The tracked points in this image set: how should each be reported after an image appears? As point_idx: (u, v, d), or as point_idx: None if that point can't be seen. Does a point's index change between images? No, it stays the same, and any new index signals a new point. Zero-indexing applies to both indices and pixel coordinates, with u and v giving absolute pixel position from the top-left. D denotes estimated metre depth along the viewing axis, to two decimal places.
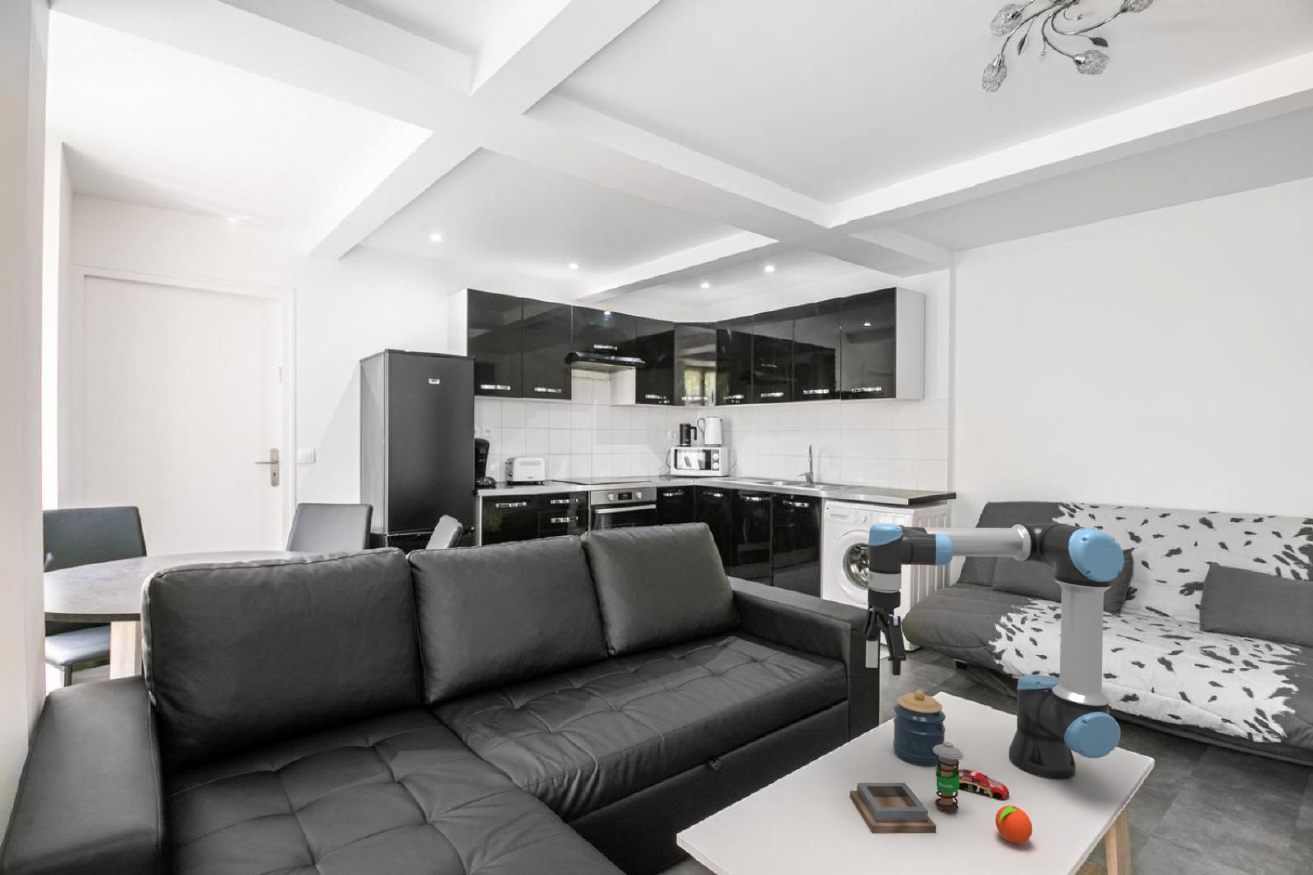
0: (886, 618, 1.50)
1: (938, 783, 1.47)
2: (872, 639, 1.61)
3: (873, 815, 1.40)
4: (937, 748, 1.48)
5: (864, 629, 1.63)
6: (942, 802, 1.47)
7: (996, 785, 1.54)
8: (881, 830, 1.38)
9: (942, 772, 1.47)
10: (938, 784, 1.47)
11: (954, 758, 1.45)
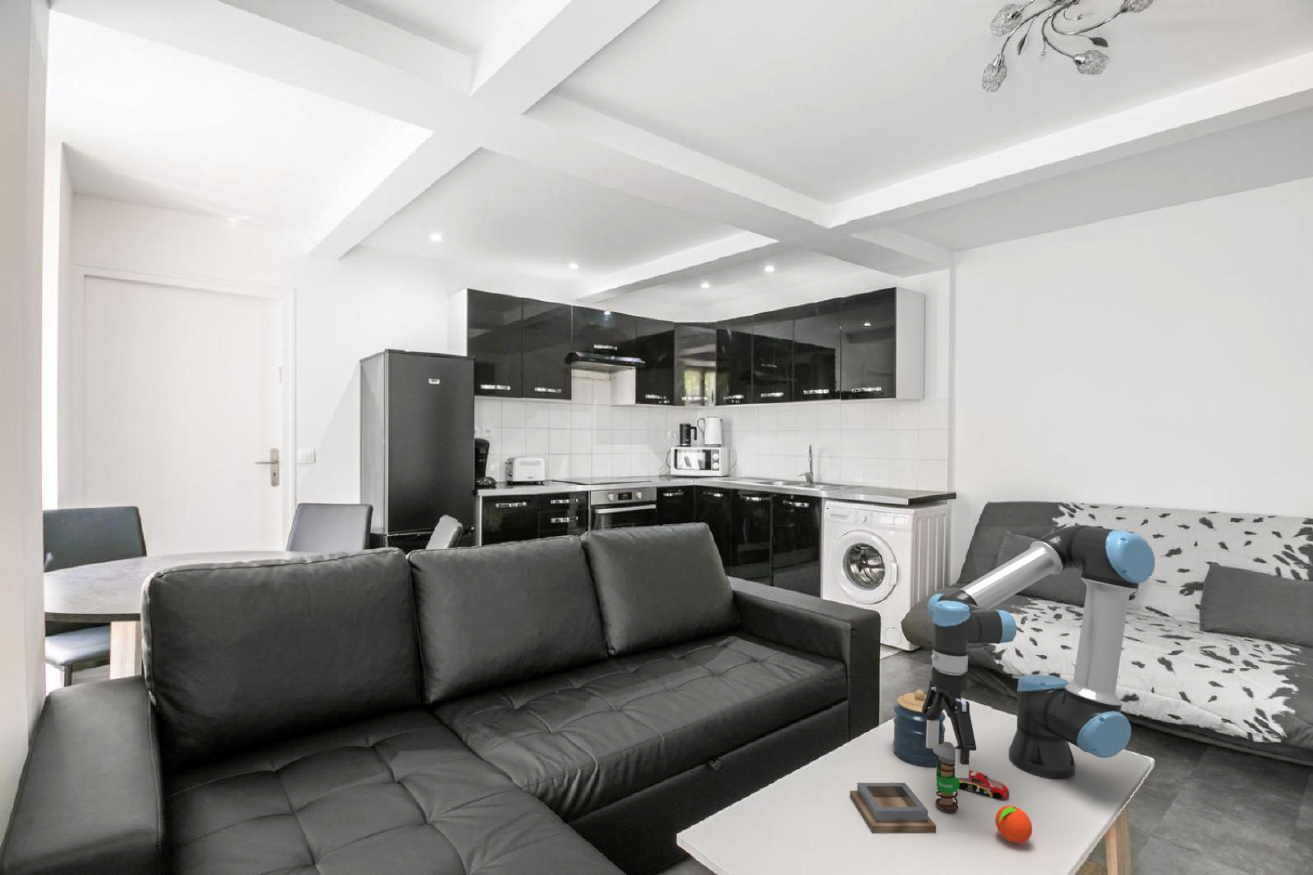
0: (953, 702, 1.44)
1: (938, 783, 1.47)
2: (933, 718, 1.55)
3: (873, 815, 1.40)
4: (937, 748, 1.48)
5: (924, 707, 1.56)
6: (942, 802, 1.47)
7: (996, 785, 1.54)
8: (881, 830, 1.38)
9: (942, 772, 1.47)
10: (938, 784, 1.47)
11: (954, 758, 1.45)
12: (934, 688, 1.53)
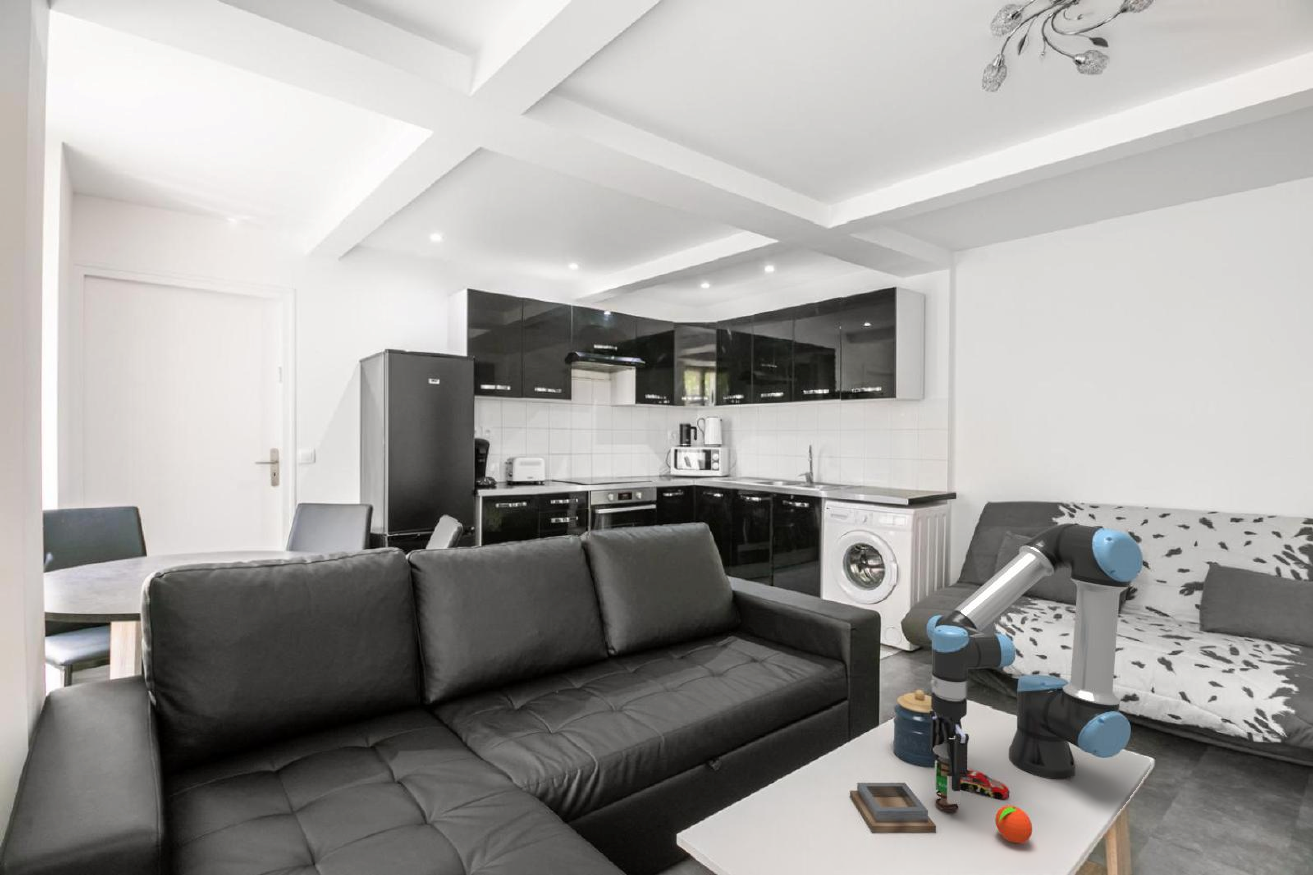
0: (952, 729, 1.44)
1: (938, 783, 1.47)
2: None
3: (873, 815, 1.40)
4: (937, 748, 1.48)
5: (931, 745, 1.53)
6: (942, 802, 1.47)
7: (997, 785, 1.54)
8: (881, 830, 1.38)
9: (942, 772, 1.47)
10: (938, 784, 1.47)
11: None
12: (935, 717, 1.52)
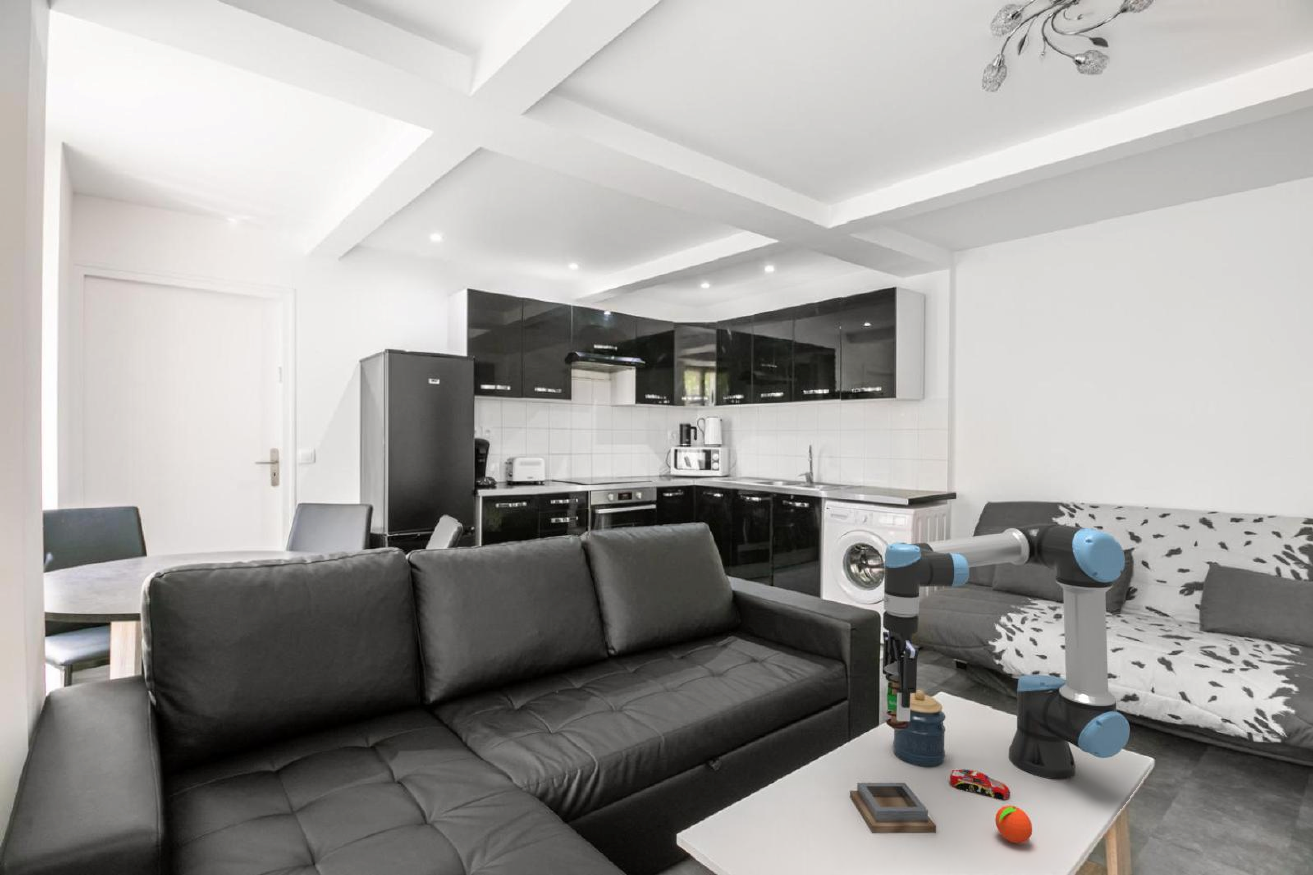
0: (902, 645, 1.42)
1: (888, 701, 1.45)
2: None
3: (873, 815, 1.40)
4: (888, 666, 1.46)
5: (883, 667, 1.51)
6: (892, 721, 1.45)
7: (997, 785, 1.54)
8: (881, 830, 1.38)
9: (893, 691, 1.45)
10: (888, 702, 1.45)
11: None
12: (888, 638, 1.50)
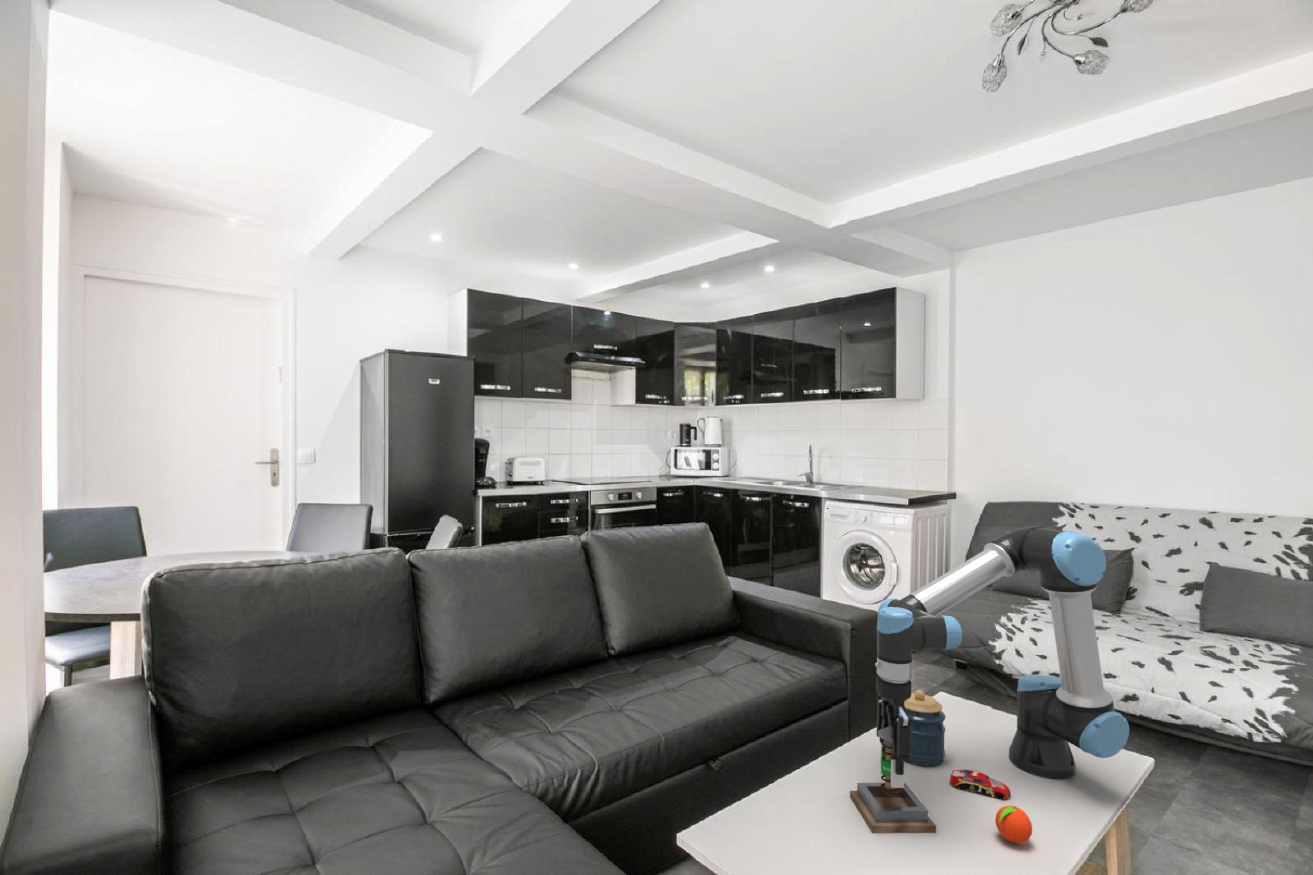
0: (896, 712, 1.41)
1: (882, 767, 1.44)
2: None
3: (873, 815, 1.40)
4: (882, 731, 1.45)
5: (877, 729, 1.50)
6: (886, 786, 1.45)
7: (998, 785, 1.54)
8: (881, 830, 1.38)
9: (886, 756, 1.45)
10: (882, 768, 1.44)
11: None
12: (881, 700, 1.50)
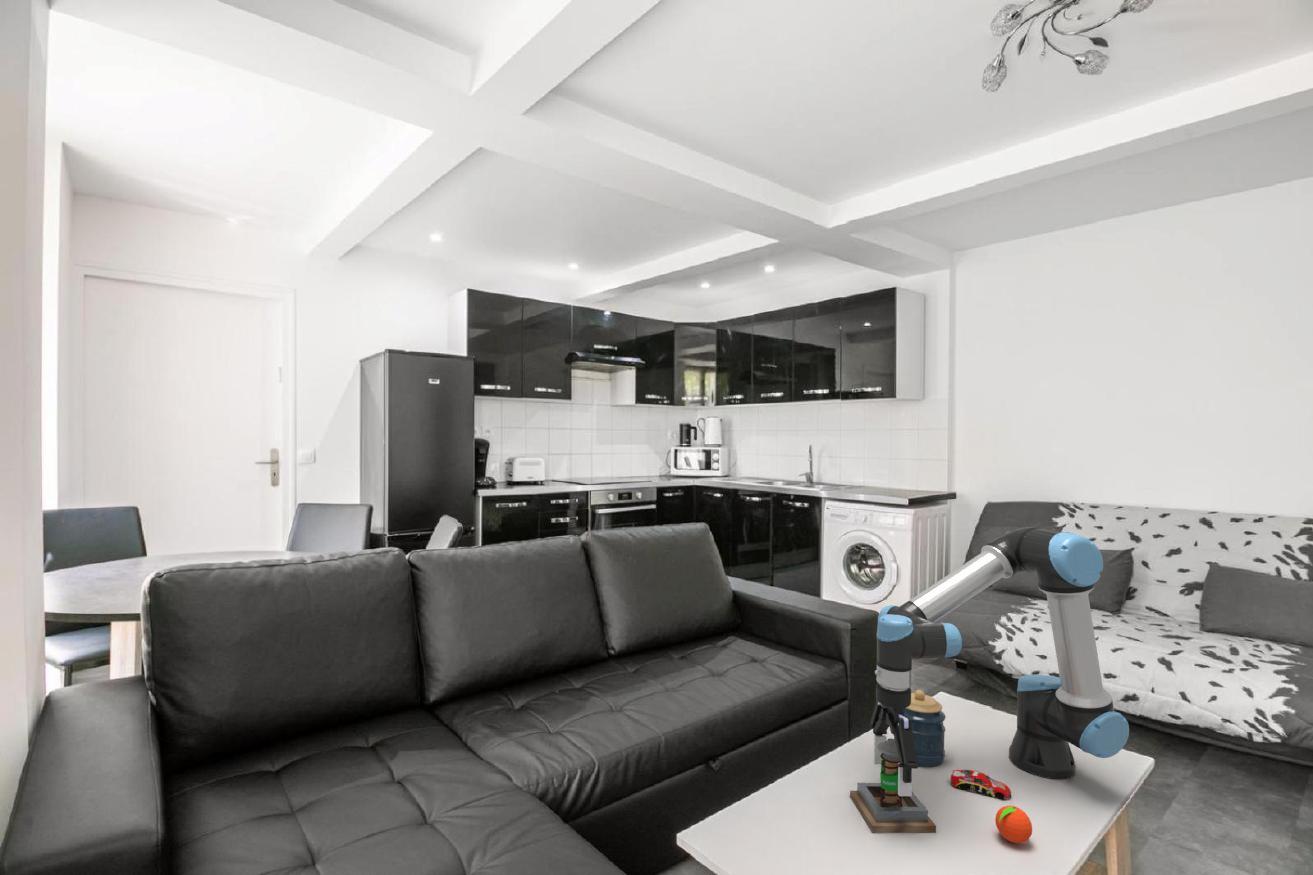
0: (896, 719, 1.41)
1: (882, 781, 1.44)
2: (880, 734, 1.52)
3: (873, 815, 1.40)
4: (881, 745, 1.46)
5: (872, 722, 1.54)
6: (886, 800, 1.45)
7: (998, 785, 1.54)
8: (881, 830, 1.38)
9: (886, 769, 1.45)
10: (882, 782, 1.44)
11: (897, 755, 1.42)
12: (880, 703, 1.50)
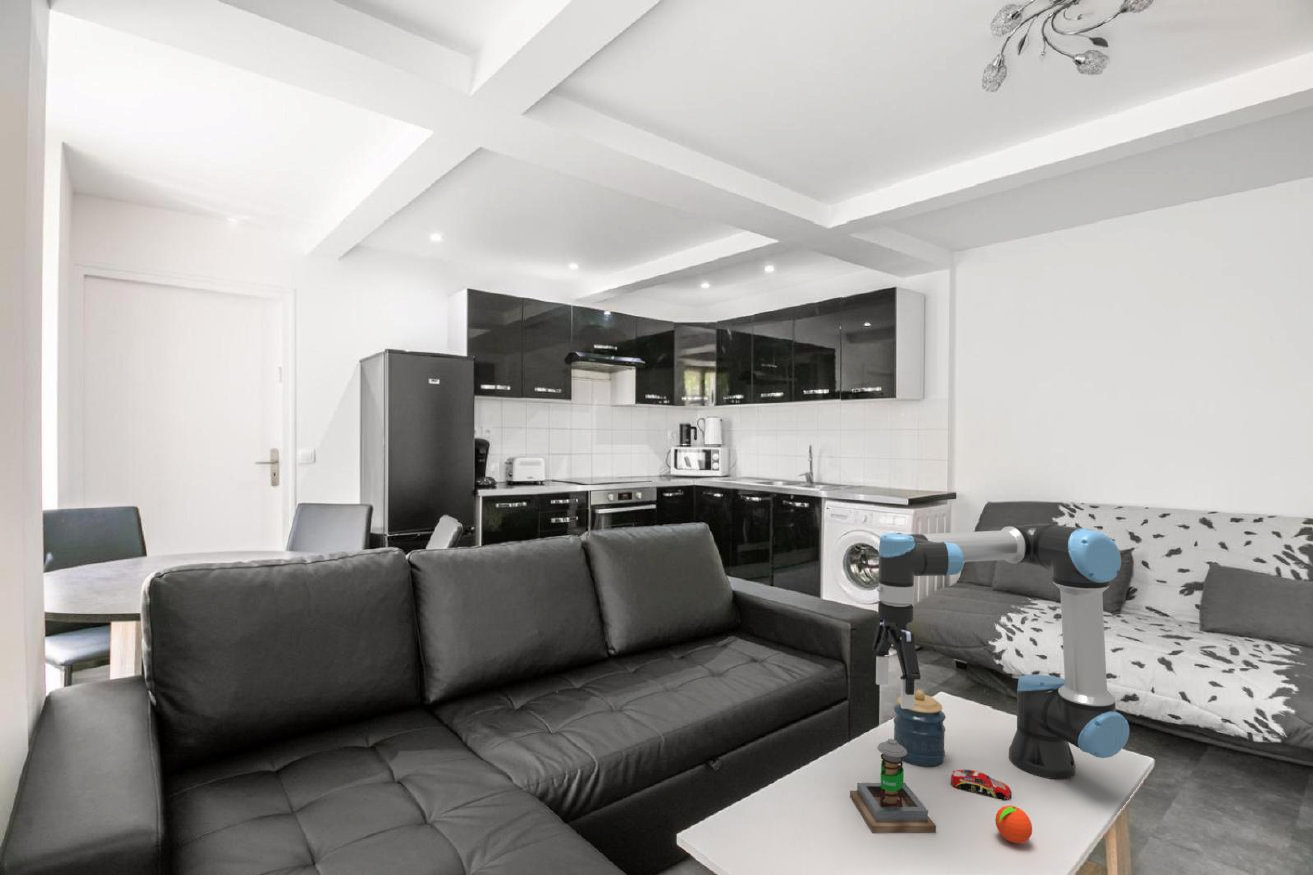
0: (898, 634, 1.42)
1: (882, 781, 1.44)
2: (882, 654, 1.53)
3: (873, 815, 1.40)
4: (881, 745, 1.45)
5: (874, 644, 1.54)
6: (886, 800, 1.45)
7: (999, 785, 1.54)
8: (881, 830, 1.38)
9: (886, 770, 1.45)
10: (882, 782, 1.44)
11: (897, 755, 1.42)
12: (882, 623, 1.51)
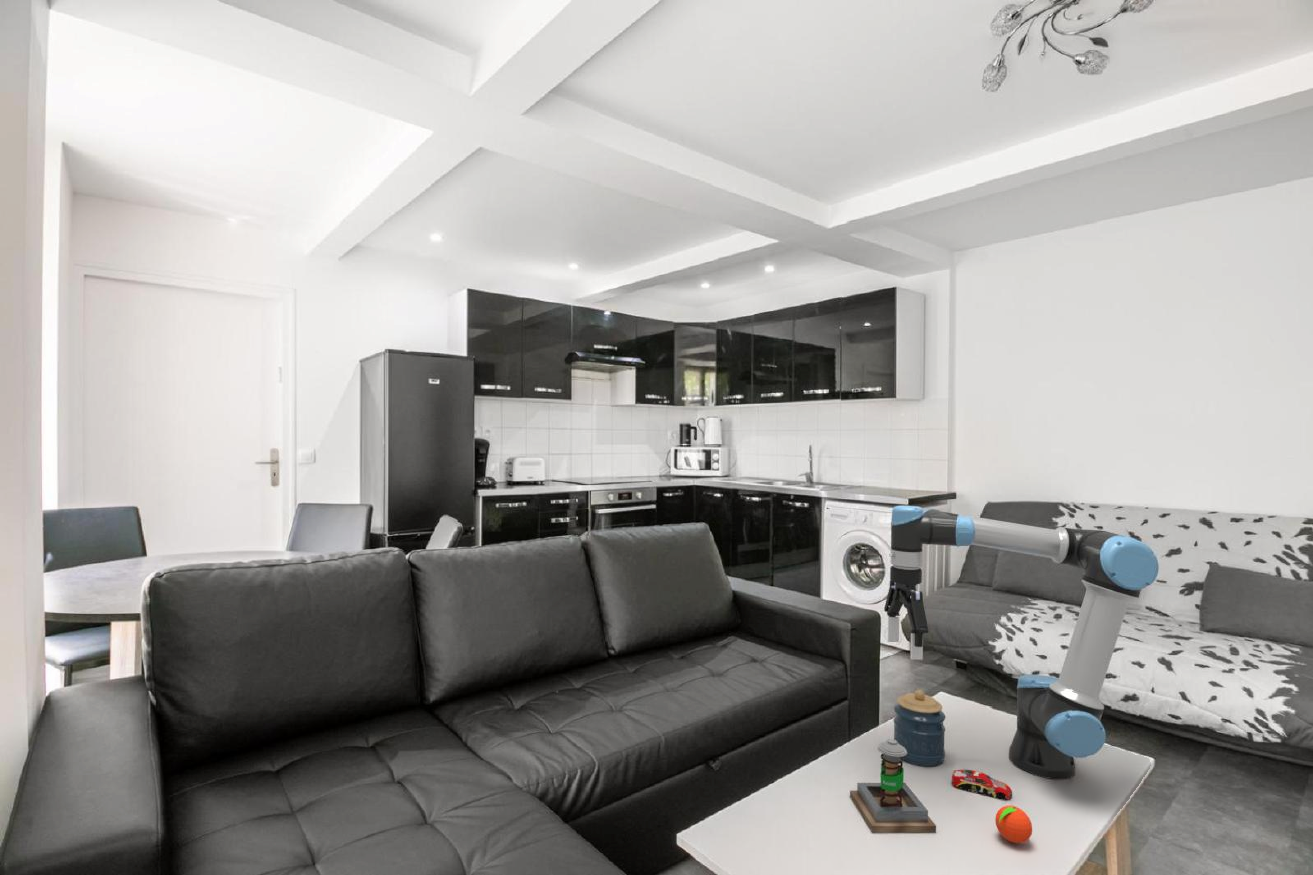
0: (908, 594, 1.59)
1: (882, 781, 1.44)
2: (893, 615, 1.70)
3: (873, 815, 1.40)
4: (881, 745, 1.45)
5: (886, 606, 1.71)
6: (886, 800, 1.45)
7: (999, 785, 1.54)
8: (881, 830, 1.38)
9: (886, 770, 1.45)
10: (882, 782, 1.44)
11: (897, 755, 1.42)
12: (894, 586, 1.68)
